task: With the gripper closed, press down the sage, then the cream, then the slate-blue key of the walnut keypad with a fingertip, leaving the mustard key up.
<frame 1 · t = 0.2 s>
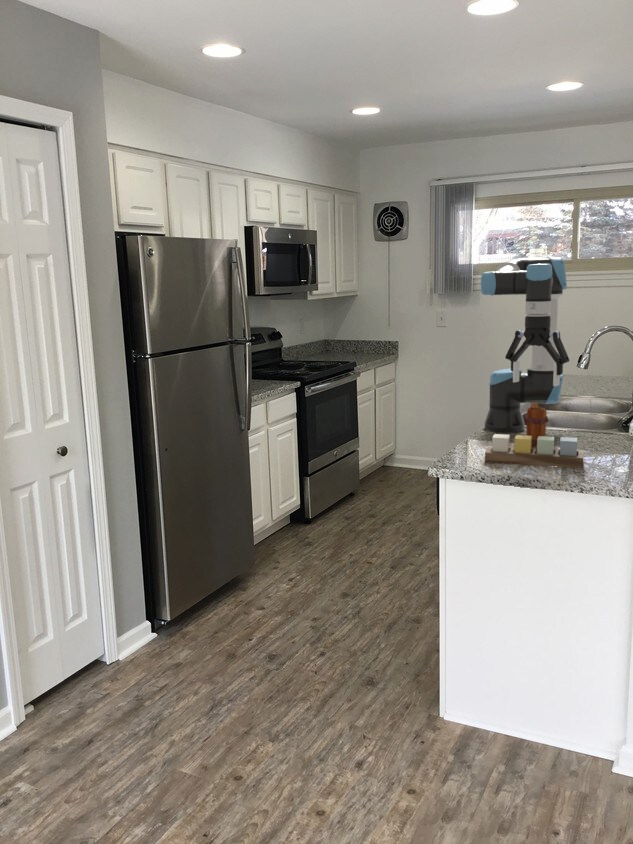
hand: (535, 383, 226), 26 cm above the counter, fingers open, 13 cm apart
key mustard: (523, 444, 235), point 5 cm above the counter, slide at 0.0 cm
keypad board: (533, 461, 235), on the counter
key slate: (568, 447, 230), point 5 cm above the counter, slide at 0.0 cm
key sage: (545, 445, 232), point 6 cm above the counter, slide at 0.0 cm
key cream: (501, 443, 237), point 5 cm above the counter, slide at 0.0 cm
orange bottle: (534, 447, 253), on the counter
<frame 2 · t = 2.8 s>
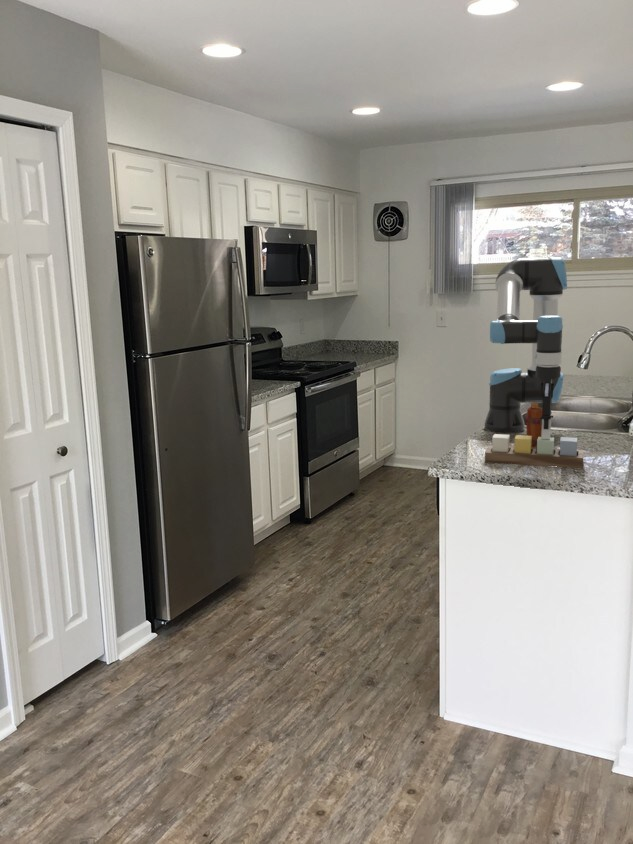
hand: (545, 438, 231), 8 cm above the counter, fingers closed
key sage: (545, 446, 232), point 5 cm above the counter, slide at 0.2 cm, touching gripper
everything else where it was.
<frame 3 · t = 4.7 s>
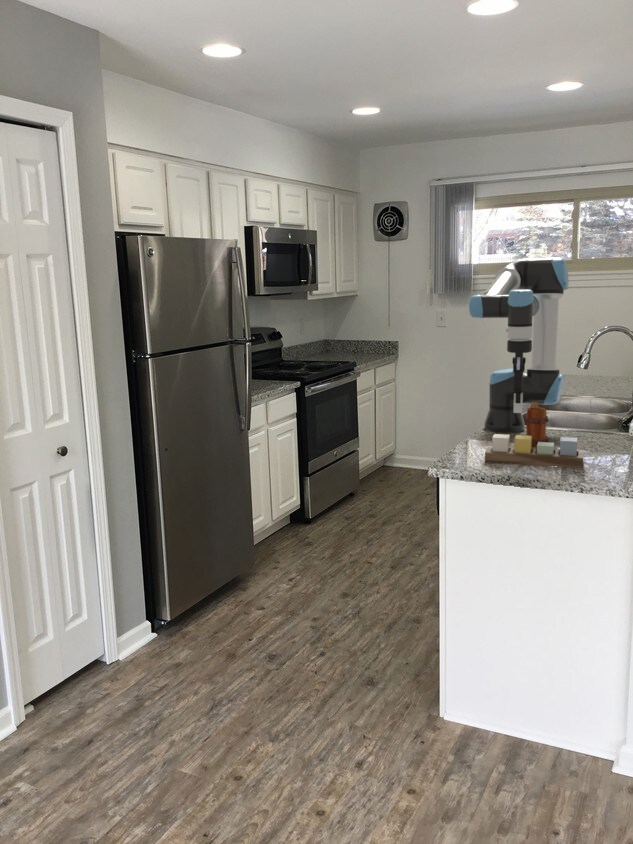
hand: (517, 412, 233), 16 cm above the counter, fingers closed
key sage: (545, 451, 233), point 4 cm above the counter, slide at 1.9 cm
everything else where it was.
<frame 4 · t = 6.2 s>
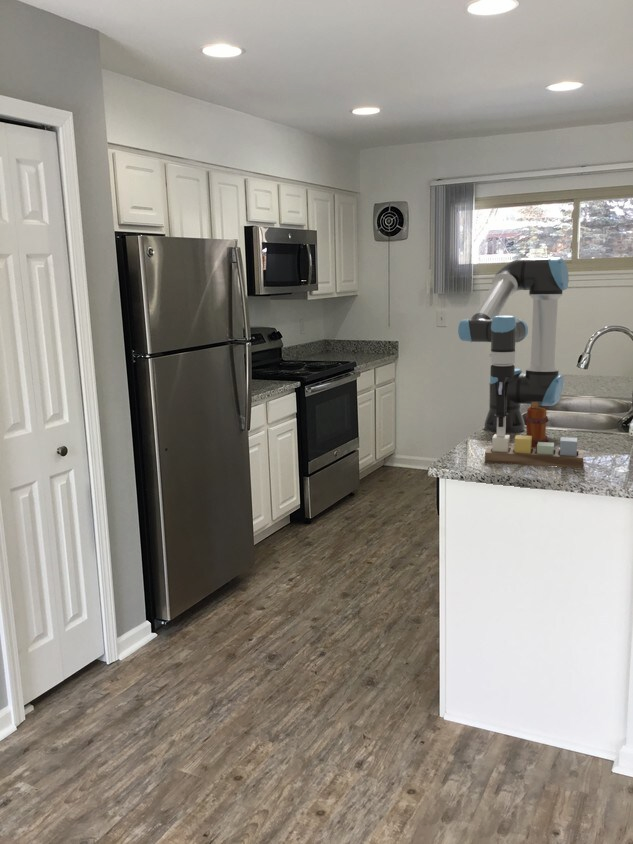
hand: (500, 435, 236), 8 cm above the counter, fingers closed
key cream: (501, 443, 237), point 5 cm above the counter, slide at 0.1 cm, touching gripper
everything else where it was.
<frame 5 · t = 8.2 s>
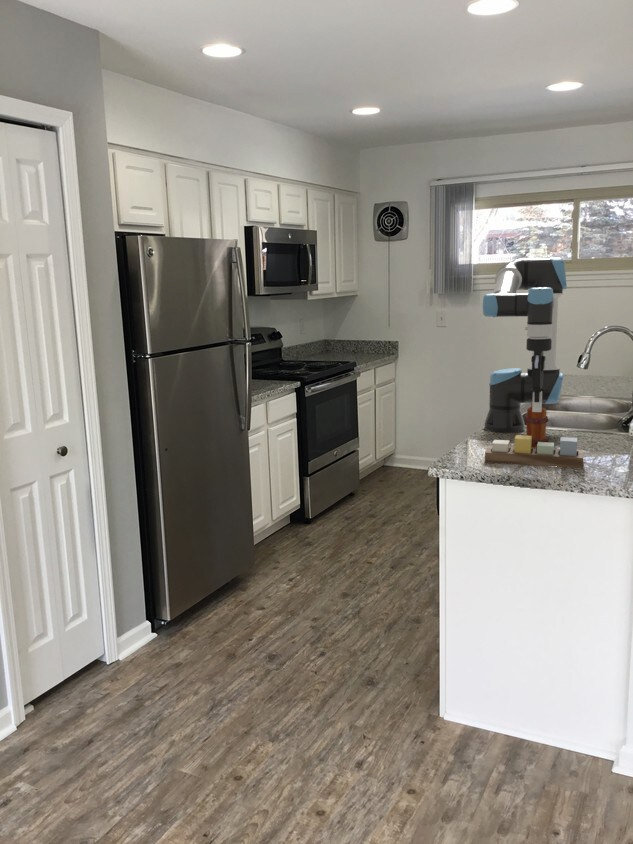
hand: (536, 411, 230), 17 cm above the counter, fingers closed
key cream: (500, 449, 237), point 4 cm above the counter, slide at 1.9 cm
everything else where it was.
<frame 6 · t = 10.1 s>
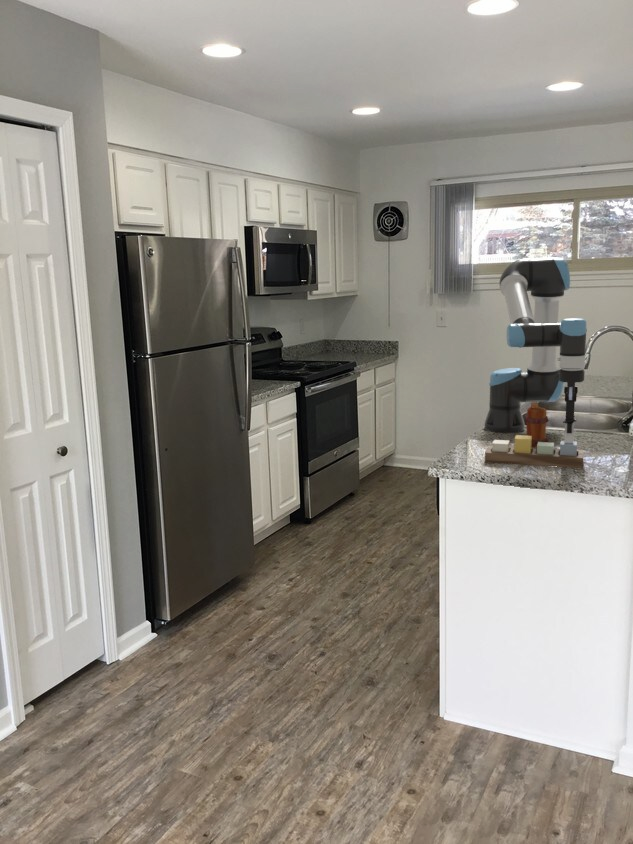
hand: (568, 442, 229), 7 cm above the counter, fingers closed
key slate: (568, 450, 230), point 4 cm above the counter, slide at 1.2 cm, touching gripper
everything else where it was.
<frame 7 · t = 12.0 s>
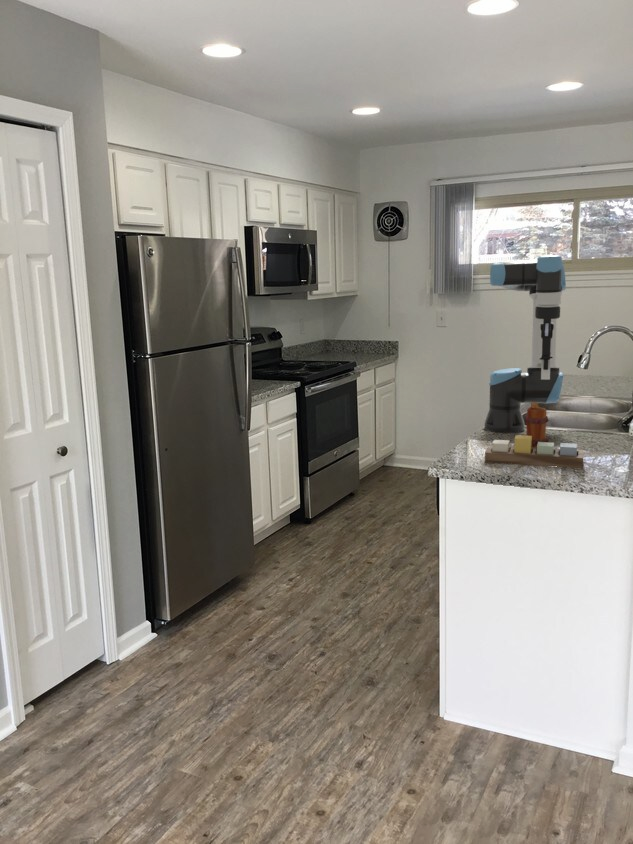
hand: (545, 379, 234), 26 cm above the counter, fingers closed
key slate: (568, 452, 230), point 4 cm above the counter, slide at 1.9 cm
everything else where it was.
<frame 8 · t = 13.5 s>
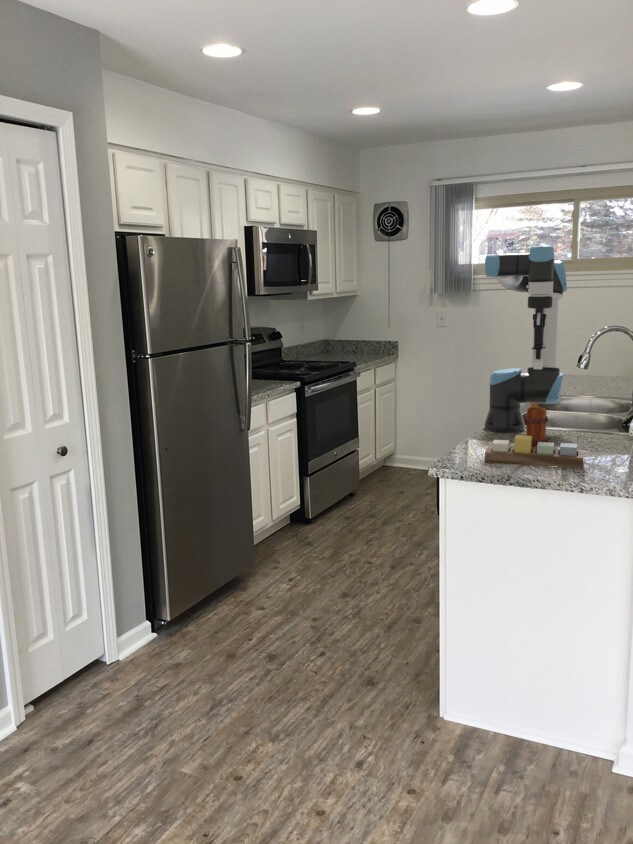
hand: (537, 368, 235), 29 cm above the counter, fingers closed
nothing on the counter moved.
at the end: key sage slide at 1.9 cm; key cream slide at 1.9 cm; key slate slide at 1.9 cm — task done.
